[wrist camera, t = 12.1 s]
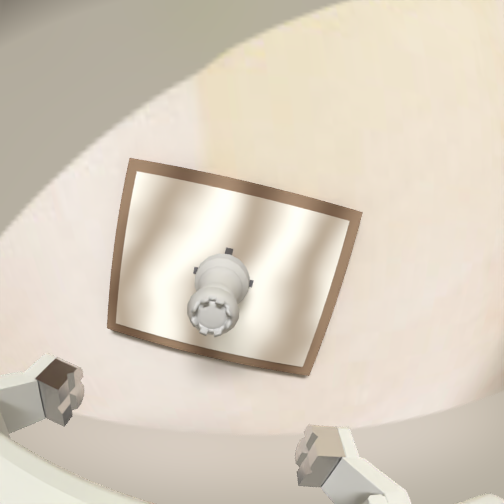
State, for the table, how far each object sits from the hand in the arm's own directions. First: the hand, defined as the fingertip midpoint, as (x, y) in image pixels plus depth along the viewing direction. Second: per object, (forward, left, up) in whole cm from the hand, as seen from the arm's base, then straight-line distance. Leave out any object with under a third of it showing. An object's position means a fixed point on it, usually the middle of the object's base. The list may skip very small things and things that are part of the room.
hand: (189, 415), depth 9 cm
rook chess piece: (0, 0, -17) cm, 17 cm away
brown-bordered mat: (0, 0, -18) cm, 18 cm away
